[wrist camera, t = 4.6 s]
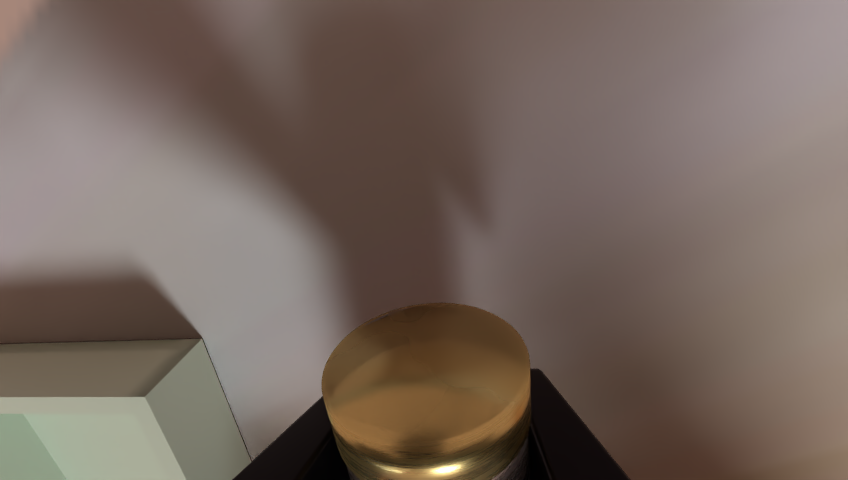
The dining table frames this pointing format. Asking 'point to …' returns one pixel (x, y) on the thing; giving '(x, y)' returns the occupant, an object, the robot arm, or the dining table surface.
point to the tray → (115, 413)
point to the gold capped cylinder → (431, 396)
